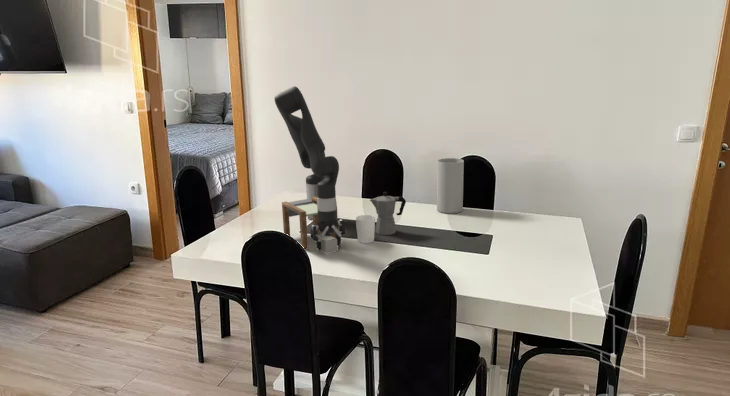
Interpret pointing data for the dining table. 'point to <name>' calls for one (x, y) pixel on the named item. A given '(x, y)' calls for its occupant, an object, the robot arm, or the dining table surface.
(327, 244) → the gray cube
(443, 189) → the cylinder vase
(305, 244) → the frame
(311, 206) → the trapdoor
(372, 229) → the white cup
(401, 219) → the dining table surface
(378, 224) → the coffeepot
